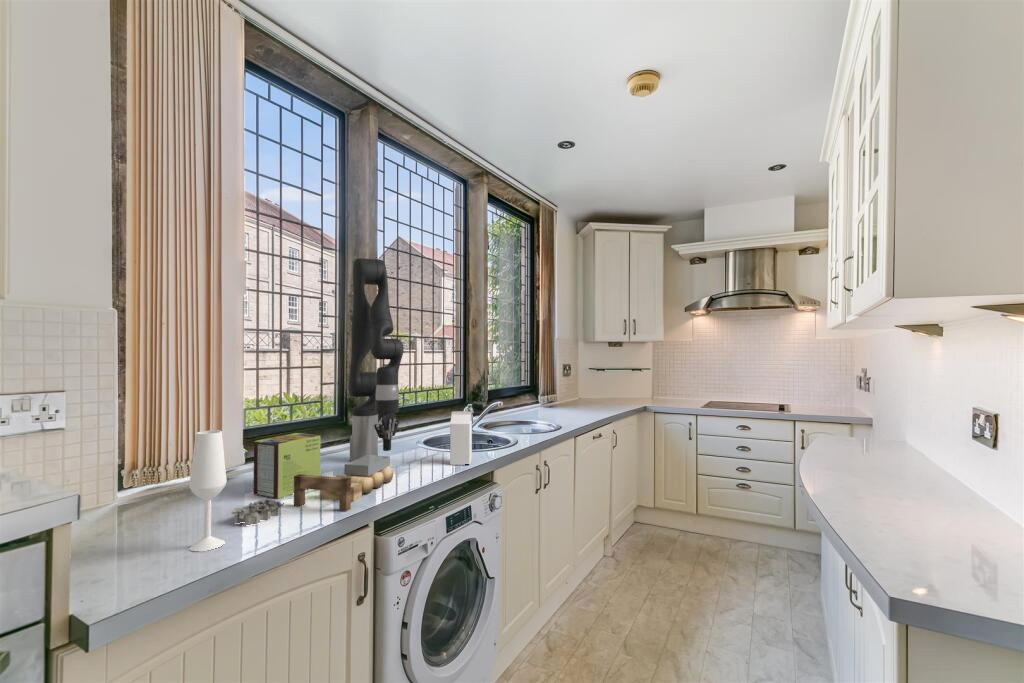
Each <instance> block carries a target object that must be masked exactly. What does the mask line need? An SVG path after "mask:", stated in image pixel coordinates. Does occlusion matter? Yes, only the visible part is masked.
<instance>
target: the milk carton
mask: <svg viewBox="0 0 1024 683" xmlns="http://www.w3.org/2000/svg"><path fill="white" fill-rule="evenodd" d="M450 417H451V418H450V424H449V426H450V427H449V428H450V429H449V431H450V432H449V436H450V437H449V439H450V440H449V441H450V442H449V449H450V450H449V466H458V465H459V466H466V465H465V464H470V465H471V463H472V461H471V460H472V458H473V456H472V453H473V452H472V450H473V449H472V448H473V444H472V443H473V441H472V440H473V438H472V437H473V429H472V428H473V421H472V420H473V419H472V412H471V411H464V410H463V411H462V410H461V411H460V410H459V411H458V410H457V411H451V416H450Z"/></svg>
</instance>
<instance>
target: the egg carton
mask: <svg viewBox="0 0 1024 683" xmlns="http://www.w3.org/2000/svg"><path fill="white" fill-rule="evenodd" d="M284 505H285V502H282V503H280V501H279V500H277V501H276V500H274V499H272V498H271V499H268V498H267V497H263V498H261V499H259V500H257V501H254V502H253V503H252V502H250V503H249V504H247V505H244V506H242V507H235V508H233V510H232V511H230V512H231V513H230V515H234V516H233V518H234V519H233V521H234V522H233V523H240V522H245V524H246V525H251V524H257V523H261V521H260V520H265V521H269V520H271V518H272V517H279V516H281V515H280V514H281V512H282V508H283V507H284ZM278 515H279V516H278ZM271 516H272V517H271ZM268 519H269V520H268ZM245 524H244V525H245Z"/></svg>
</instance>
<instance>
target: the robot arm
mask: <svg viewBox="0 0 1024 683" xmlns="http://www.w3.org/2000/svg"><path fill="white" fill-rule="evenodd" d="M365 285H366V286H367V285H370V286H371V285H372V286H377V293H376V297H375V298H374V300H373V302H372V304H371V305H370V303H369V301H368V298H367V296H366V291H365ZM352 290H353V291H352V293H353V294H352V296H353V301H352V302H353V305H352V306H353V308H352V321H351V351H350V353H351V354H350V365H349V375H348V386H347V387H348V394H349V395H350V397H353V398H358V397H361V398H362V397H368V399H367V400H366V401H364V402H363V403H361V404H359V405H356V406H354V407H353V408H352V412H351V413H352V420H351V421H352V424H351V425H352V427H351V428H352V429H351V430H352V434H351V435H350V436H349V462H350V461H354V460H356V459H359V458H362V457H364V456H367V455H375V456H379V453H378V451H379V439H381V440H382V450H383V451H384V452H389V451H391V450H392V439H393V437H395V436H396V433H397V430H398V427H399V424H400V420H399V419H396V417H397V416H396V413H398V412H400V411H399V410H400V406H399V405H400V395H399V394H400V390H399V370H400V366H401V361H402V359H403V355H404V348H405V347H404V344H403V342H402V340H400V339H399V338H383V337H387V336H390V335H391V334H392V333H393V332H394V323H393V319H392V314H391V309H390V300H389V298H390V297H389V296H390V295H389V284H388V270H387V267H386V264H385V262H384V261H383V260H381V259H375V258H363V257H358V258H356V259H355V260H354V261H353V267H352ZM369 352H370V353H371V356H373V358H374V359H376V360H389V362H388V363H387V365H385V366H384V365H383V366H380V367H378V368H377V369H376V371H360V370H361V366H362V364H363V362H364V360H365V358H366V357H367V355H368V354H369Z"/></svg>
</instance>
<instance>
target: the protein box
mask: <svg viewBox="0 0 1024 683" xmlns="http://www.w3.org/2000/svg"><path fill="white" fill-rule="evenodd" d="M298 474H303V475H316V476H321V435H320V434H312V433H311V434H310V433H302V432H293V433H289V434H284V435H279V436H275V437H274V436H273V437H269V438H264V439H258V440H255V441H253V493H252V494H253V495H254V494H257V495H256V496H259V495H261V496H260V497H265V496H267V497H266V498H270V497H272V498H271V499H275V498H277V500H278V498H279V499H282V498H284V496H286V497H288V496H287V495H289V496H291V495H290V494H292V495H294V494H293V493H294V476H296V475H298ZM305 491H307V490H306V489H305ZM281 497H282V498H281Z"/></svg>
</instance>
